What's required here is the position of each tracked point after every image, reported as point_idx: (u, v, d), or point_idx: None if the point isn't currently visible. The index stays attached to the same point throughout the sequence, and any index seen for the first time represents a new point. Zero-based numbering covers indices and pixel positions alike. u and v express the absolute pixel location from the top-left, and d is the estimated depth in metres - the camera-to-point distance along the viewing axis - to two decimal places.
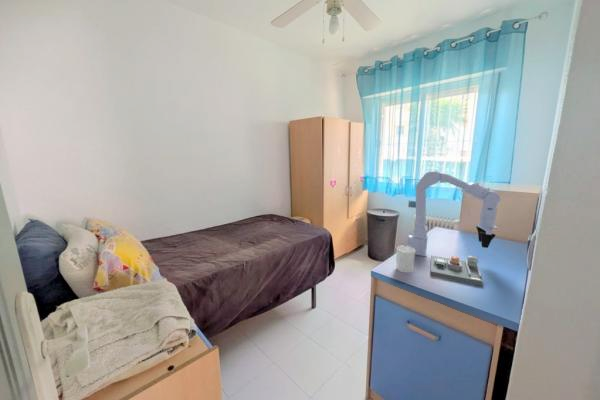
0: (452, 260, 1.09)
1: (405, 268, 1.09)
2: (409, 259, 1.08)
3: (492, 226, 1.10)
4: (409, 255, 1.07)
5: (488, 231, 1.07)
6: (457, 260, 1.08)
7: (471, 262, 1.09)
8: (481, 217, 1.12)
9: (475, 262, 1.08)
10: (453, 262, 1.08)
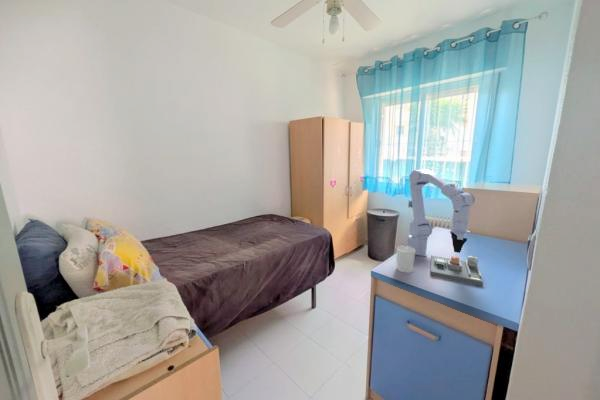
0: (452, 260, 1.09)
1: (405, 268, 1.09)
2: (409, 259, 1.08)
3: (464, 230, 1.04)
4: (409, 255, 1.07)
5: (459, 236, 1.00)
6: (457, 260, 1.08)
7: (471, 262, 1.09)
8: (453, 221, 1.05)
9: (475, 262, 1.08)
10: (453, 262, 1.08)
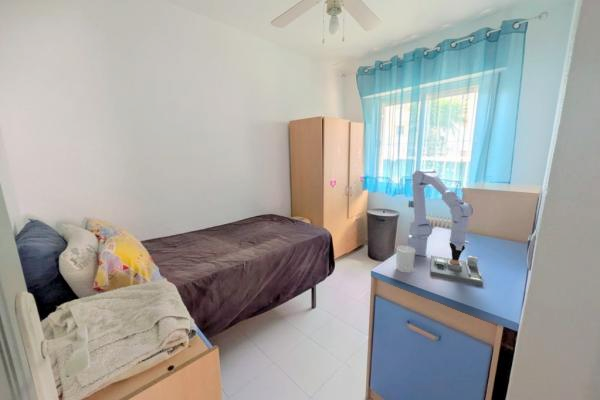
0: (452, 262, 1.09)
1: (405, 268, 1.09)
2: (409, 259, 1.08)
3: (463, 241, 1.05)
4: (409, 255, 1.07)
5: (458, 247, 1.01)
6: (457, 262, 1.08)
7: (471, 262, 1.09)
8: (452, 231, 1.06)
9: (475, 262, 1.08)
10: None
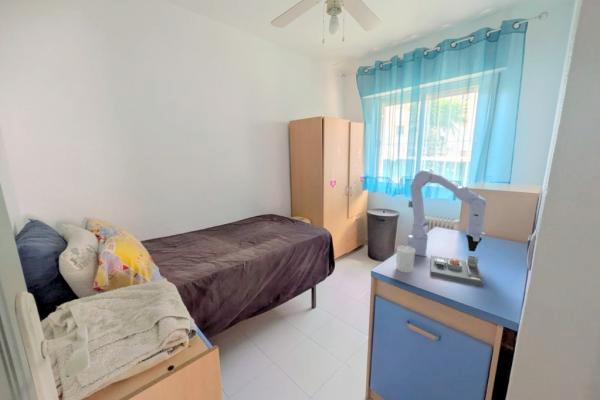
0: (452, 262, 1.09)
1: (405, 268, 1.09)
2: (409, 259, 1.08)
3: (480, 232, 1.09)
4: (409, 255, 1.07)
5: (475, 238, 1.06)
6: (457, 262, 1.08)
7: (471, 262, 1.09)
8: (469, 223, 1.11)
9: (475, 262, 1.08)
10: None
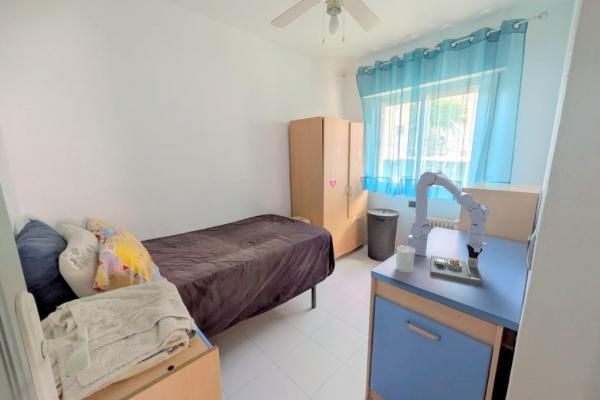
0: (452, 262, 1.09)
1: (405, 268, 1.09)
2: (409, 259, 1.08)
3: (481, 243, 1.05)
4: (409, 255, 1.07)
5: (476, 249, 1.02)
6: (457, 262, 1.08)
7: (471, 263, 1.08)
8: (469, 233, 1.07)
9: (475, 263, 1.08)
10: None
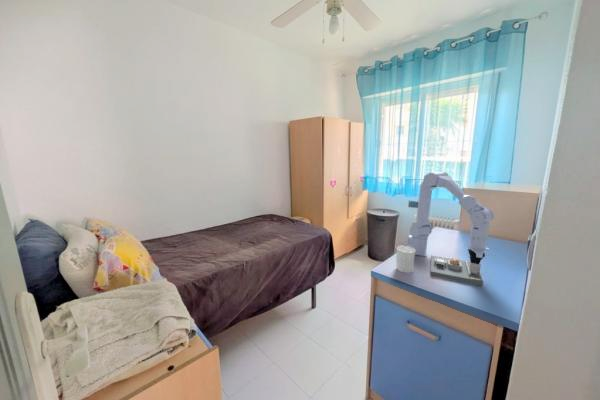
0: (452, 262, 1.09)
1: (405, 268, 1.09)
2: (409, 259, 1.08)
3: (483, 248, 1.00)
4: (409, 255, 1.07)
5: (479, 254, 0.97)
6: (457, 262, 1.08)
7: (473, 269, 1.03)
8: (471, 237, 1.02)
9: (477, 269, 1.02)
10: None
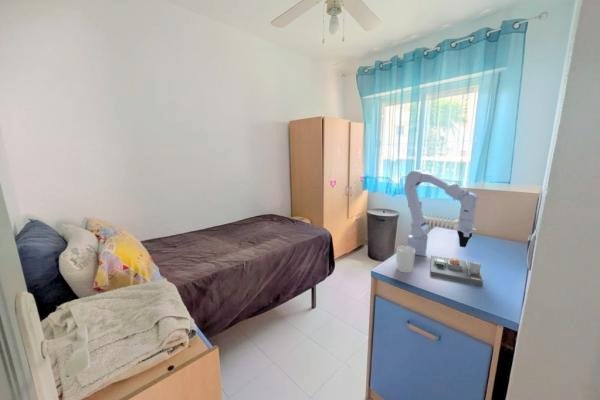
0: (452, 262, 1.09)
1: (405, 268, 1.09)
2: (409, 259, 1.08)
3: (471, 228, 1.10)
4: (408, 255, 1.07)
5: (466, 233, 1.06)
6: (457, 262, 1.08)
7: (473, 269, 1.03)
8: (460, 219, 1.12)
9: (478, 269, 1.02)
10: None
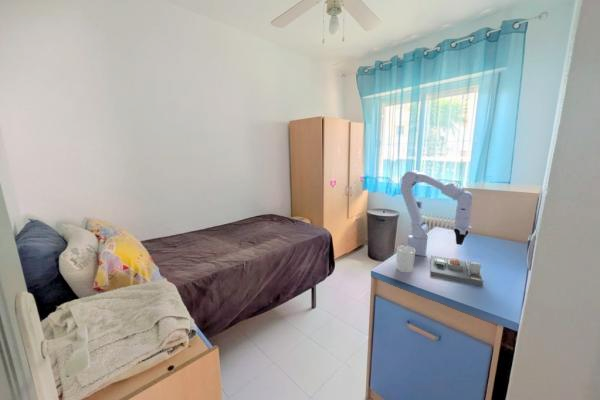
0: (452, 262, 1.09)
1: (405, 268, 1.09)
2: (409, 259, 1.08)
3: (467, 226, 1.12)
4: (408, 255, 1.07)
5: (462, 231, 1.09)
6: (457, 262, 1.08)
7: (473, 269, 1.03)
8: (456, 217, 1.14)
9: (478, 269, 1.02)
10: None
